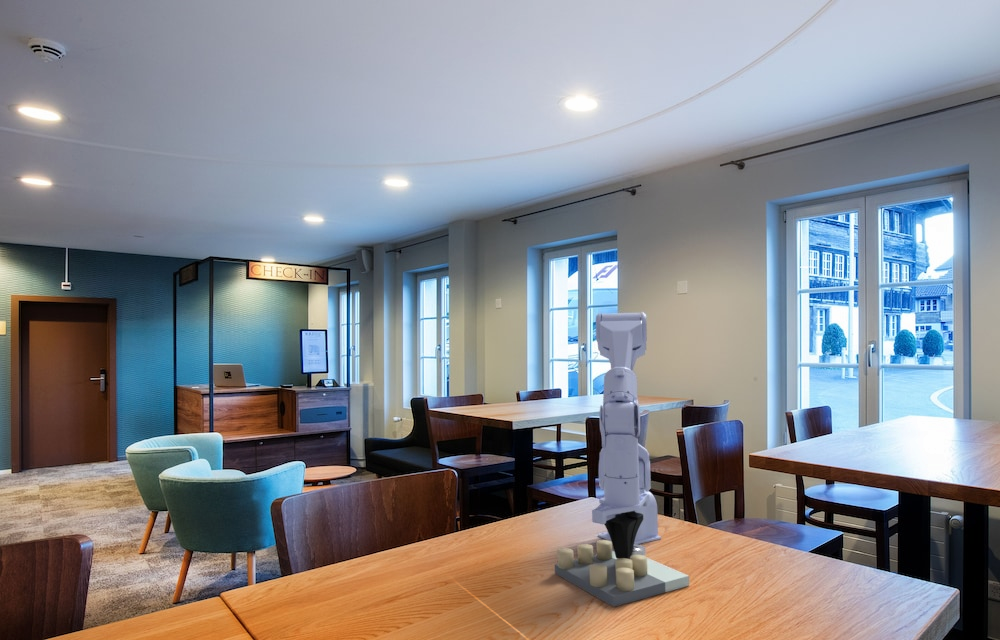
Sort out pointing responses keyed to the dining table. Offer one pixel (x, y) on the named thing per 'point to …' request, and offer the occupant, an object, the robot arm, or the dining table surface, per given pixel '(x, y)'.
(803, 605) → the dining table surface
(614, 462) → the robot arm
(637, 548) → the steel nut
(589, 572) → the board
